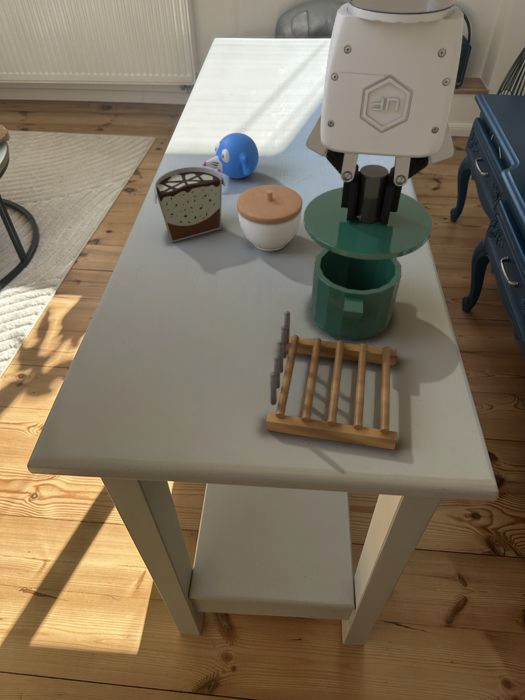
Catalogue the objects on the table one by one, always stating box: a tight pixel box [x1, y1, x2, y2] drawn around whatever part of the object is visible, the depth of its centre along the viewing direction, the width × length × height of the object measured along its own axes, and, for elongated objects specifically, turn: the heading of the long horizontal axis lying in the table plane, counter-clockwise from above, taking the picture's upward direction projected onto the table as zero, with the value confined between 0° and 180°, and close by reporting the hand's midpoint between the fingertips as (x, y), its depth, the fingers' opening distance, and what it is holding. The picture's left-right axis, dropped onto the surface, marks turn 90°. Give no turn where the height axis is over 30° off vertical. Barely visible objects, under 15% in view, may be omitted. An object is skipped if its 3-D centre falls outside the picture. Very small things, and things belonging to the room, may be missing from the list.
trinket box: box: [236, 184, 303, 252], centre depth 81 cm, size 11×11×9 cm
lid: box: [303, 164, 433, 260], centre depth 47 cm, size 13×13×6 cm
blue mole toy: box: [201, 132, 259, 179], centre depth 97 cm, size 12×12×8 cm
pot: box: [310, 248, 402, 341], centre depth 68 cm, size 12×17×8 cm
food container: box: [153, 166, 226, 243], centre depth 84 cm, size 12×6×10 cm, turn 116°
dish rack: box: [265, 310, 398, 450], centre depth 58 cm, size 15×14×8 cm
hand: (367, 213), depth 48 cm, fingers closed on lid, 2 cm apart
